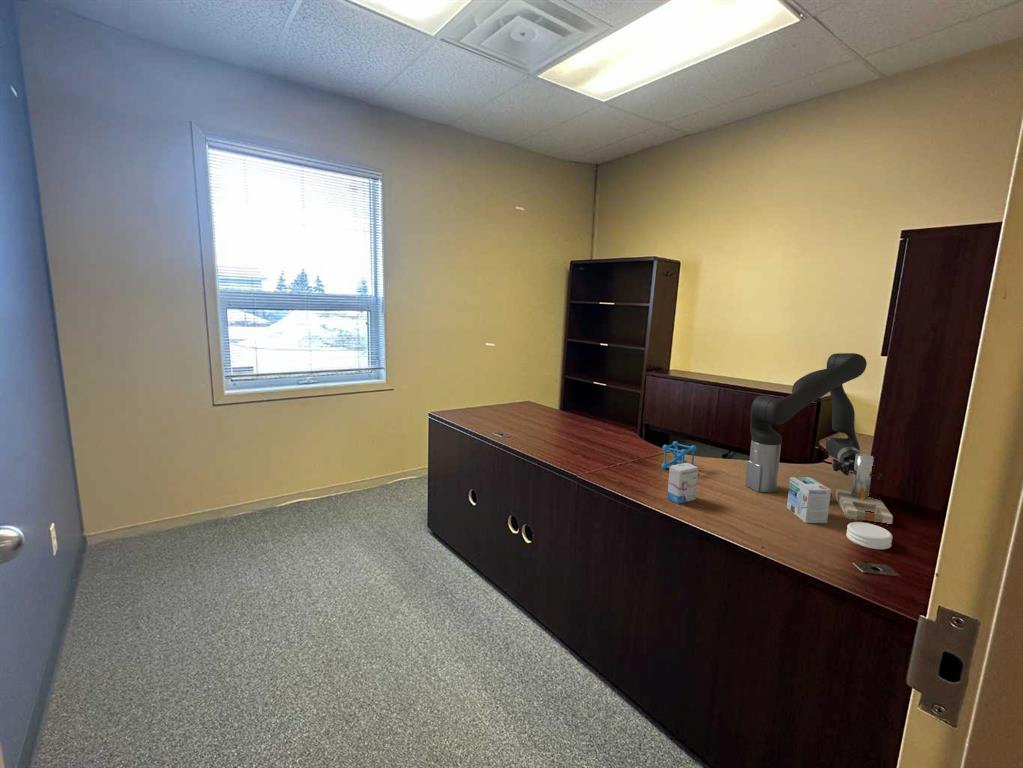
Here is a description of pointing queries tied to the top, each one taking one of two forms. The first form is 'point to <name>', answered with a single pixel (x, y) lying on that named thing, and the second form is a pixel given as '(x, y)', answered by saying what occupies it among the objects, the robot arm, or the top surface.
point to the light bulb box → (808, 499)
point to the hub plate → (863, 508)
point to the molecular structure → (677, 456)
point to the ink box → (682, 483)
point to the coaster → (869, 535)
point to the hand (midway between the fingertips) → (863, 474)
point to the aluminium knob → (862, 476)
